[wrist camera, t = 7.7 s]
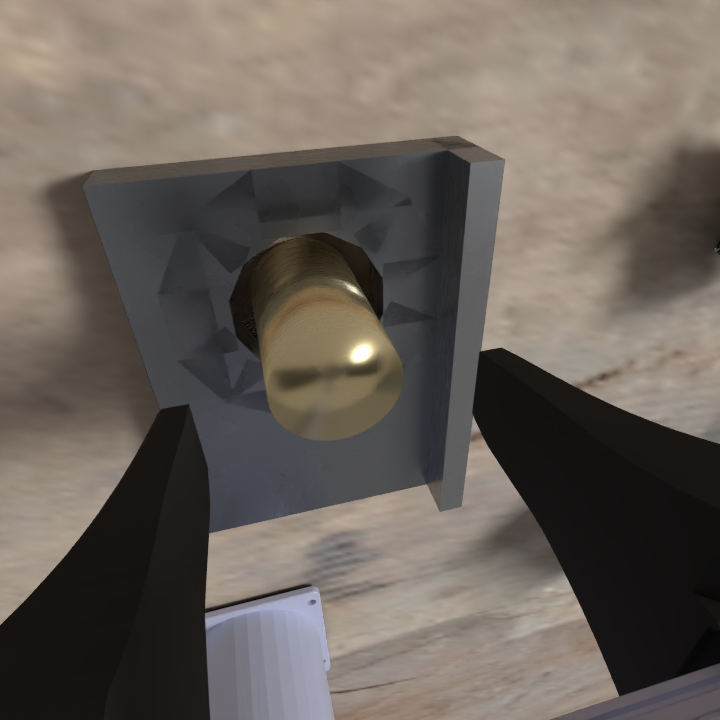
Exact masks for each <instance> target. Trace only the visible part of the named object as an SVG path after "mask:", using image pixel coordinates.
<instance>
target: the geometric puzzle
mask: <svg viewBox="0 0 720 720" xmlns="http://www.w3.org/2000/svg"><path fill="white" fill-rule="evenodd" d="M719 246H720V242H719V244H718V247H717V248H715V249H714V250H715V251H717V252H718V253H719V252H720V247H719ZM719 255H720V253H719Z"/></svg>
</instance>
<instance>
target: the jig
mask: <svg viewBox="0 0 720 720" xmlns="http://www.w3.org/2000/svg"><path fill="white" fill-rule="evenodd" d="M504 164H505V159H503V158H501V157H499V156H497V155H495V154H493V153H491V152H489V151H487V150H485V149H483V148H481V147H479V146H477V145H475V144H473V143H471V142H469V141H467V140H465V139H463V138H461V137H459V136H452V137H442V138H431V139H421V140H410V141H400V142H389V143H379V144H368V145H358V146H347V147H337V148H326V149H316V150H305V151H295V152H285V153H274V154H264V155H253V156H243V157H232V158H222V159H211V160H201V161H190V162H180V163H169V164H159V165H148V166H138V167H127V168H117V169H106V170H96V171H93V172H92V173H91V175H90V176H89V178H88V179H87V181H86V182H85V183H84V185H83V186H82V187H83V190H84V193H85V196H86V199H87V202H88V205H89V207H90V210H91V213H92V216H93V219H94V222H95V225H96V228H97V230H98V233H99V236H100V239H101V242H102V245H103V248H104V251H105V253H106V256H107V259H108V262H109V265H110V268H111V271H112V274H113V276H114V279H115V282H116V285H117V288H118V291H119V294H120V297H121V299H122V302H123V305H124V308H125V311H126V314H127V317H128V320H129V322H130V325H131V328H132V331H133V334H134V337H135V340H136V343H137V345H138V348H139V351H140V354H141V357H142V360H143V363H144V366H145V368H146V371H147V374H148V377H149V380H150V383H151V386H152V389H153V391H154V394H155V397H156V400H157V403H158V406H159V409H160V410H161V409H164V408H169V407H175V406H180V405H186V404H189V406H190V409H191V412H192V416H193V419H194V422H195V426H196V429H197V432H198V436H199V439H200V442H201V446H202V449H203V452H204V456H205V459H206V462H207V466H208V476H209V490H210V524H209V533H213V532H217V531H221V530H226V529H230V528H235V527H239V526H244V525H248V524H252V523H257V522H261V521H266V520H270V519H275V518H279V517H283V516H288V515H292V514H297V513H301V512H306V511H310V510H314V509H319V508H323V507H328V506H332V505H337V504H341V503H345V502H350V501H354V500H359V499H363V498H368V497H372V496H376V495H381V494H385V493H390V492H394V491H398V490H403V489H407V488H412V487H416V486H421V485H425V484H427V485H428V487H429V489H430V492H431V494H432V496H433V498H434V500H435V502H436V504H437V507H438V509H439V511H440V512H441V511H445V510H449V509H454V508H458V507H461V506H462V498H463V490H464V482H465V474H466V466H467V459H468V451H469V443H470V435H471V427H472V419H473V414H472V408H473V400H474V392H475V384H476V375H477V367H478V359H479V352H480V351H481V347H482V339H483V331H484V323H485V315H486V307H487V299H488V291H489V284H490V276H491V268H492V260H493V252H494V244H495V236H496V228H497V220H498V212H499V204H500V196H501V188H502V180H503V172H504ZM320 232H326V233H328V234H330V235H333V236H335V237H337V238H340V239H342V240H344V241H347V242H349V243H352V244H354V245H356V246H359V247H361V248H363V250H364V251H365V253H366V254H367V256H368V257H369V259H370V263H371V294H370V296H369V298H368V301H369V303H370V305H371V307H372V309H373V310H374V312H375V314H376V316H377V318H378V319H379V321H380V323H381V325H382V327H383V328H384V330H385V332H386V334H387V336H388V337H389V339H390V341H391V343H392V345H393V346H394V348H395V350H396V352H397V354H398V355H399V357H400V360H401V362H402V366H403V374H404V378H403V386H402V390H401V393H400V395H399V397H398V399H397V401H396V403H395V405H394V406H393V407H392V409H391V410H390V411H389V412H388V413H387V415H386V416H385V417H384V418H382V419H381V420H380V421H379V422H378V423H376V424H375V425H374V426H372V427H370V428H369V429H367V430H365V431H363V432H361V433H359V434H357V435H354V436H351V437H348V438H343V439H338V440H329V441H320V440H311V439H306V438H303V437H300V436H297V435H295V434H293V433H291V432H289V431H288V430H286V429H285V428H284V427H283V426H281V425H280V424H279V423H278V421H277V420H276V419H275V417H274V416H273V414H272V412H271V410H270V408H269V404H268V399H267V393H266V387H265V380H264V374H263V368H262V361H261V355H260V349H259V343H258V338H257V337H256V336H255V335H254V334H253V333H252V332H251V331H250V330H249V329H248V328H247V327H246V326H245V324H244V323H243V322H242V321H241V320H240V319H239V318H238V317H237V316H236V315H235V314H234V311H233V306H232V302H231V294H232V292H233V290H234V287H235V285H236V282H237V280H238V278H239V275H240V273H241V270H242V268H243V265H244V264H245V263H246V262H247V261H249V260H250V259H251V258H253V257H254V256H255V255H257V254H258V253H260V252H261V251H262V250H264V249H265V248H266V247H268V246H269V245H270V244H272V243H273V242H275V241H276V240H277V239H279V238H280V237H288V236H296V235H304V234H312V233H320Z"/></svg>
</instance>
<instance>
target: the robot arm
mask: <svg viewBox="0 0 720 720" xmlns="http://www.w3.org/2000/svg"><path fill="white" fill-rule="evenodd" d="M472 414H473V416H474V418H475V420H476V423H477V425H478V427H479V429H480V431H481V433H482V435H483V437H484V439H485V441H486V443H487V445H488V447H489V448H490V450H491V452H492V453H493V455H494V456H495V458H496V459H497V461H498V462H499V464H500V465H501V467H502V469H503V470H504V472H505V473H506V475H507V476H508V478H509V479H510V481H511V482H512V484H513V485H514V487H515V488H516V490H517V491H518V493H519V494H520V496H521V497H522V499H523V500H524V502H525V503H526V505H527V506H528V508H529V509H530V511H531V512H532V514H533V515H534V517H535V518H536V520H537V522H538V523H539V525H540V527H541V528H542V530H543V532H544V534H545V536H546V538H547V540H548V541H549V543H550V545H551V547H552V549H553V551H554V553H555V555H556V557H557V559H558V561H559V562H560V564H561V567H562V569H563V571H564V573H565V575H566V577H567V579H568V581H569V583H570V585H571V587H572V589H573V591H574V593H575V595H576V597H577V599H578V601H579V604H580V606H581V608H582V610H583V612H584V615H585V617H586V619H587V621H588V623H589V626H590V628H591V630H592V632H593V634H594V637H595V639H596V641H597V643H598V646H599V648H600V650H601V653H602V655H603V658H604V660H605V662H606V665H607V667H608V670H609V672H610V674H611V677H612V679H613V682H614V684H615V686H616V689H617V692H618V694H619V697H617V698H614V699H611V700H608V701H605V702H602V703H599V704H595V705H592V706H589V707H586V708H583V709H580V710H577V711H574V712H571V713H568V714H565V715H562V716H559V717H556V718H553V719H550V720H720V444H718V443H714V442H711V441H707V440H704V439H701V438H698V437H695V436H692V435H689V434H686V433H682V432H679V431H676V430H673V429H671V428H668V427H665V426H662V425H659V424H657V423H654V422H652V421H649V420H647V419H644V418H642V417H639V416H637V415H634V414H631V413H629V412H627V411H624V410H622V409H620V408H618V407H615V406H613V405H611V404H609V403H607V402H605V401H603V400H600V399H598V398H596V397H594V396H592V395H590V394H588V393H586V392H584V391H582V390H580V389H578V388H576V387H574V386H572V385H570V384H569V383H567V382H565V381H563V380H561V379H559V378H557V377H555V376H554V375H552V374H550V373H548V372H546V371H544V370H543V369H541V368H539V367H537V366H535V365H534V364H532V363H530V362H528V361H526V360H525V359H523V358H521V357H519V356H517V355H515V354H513V353H511V352H509V351H507V350H505V349H503V348H497V349H491V350H486V351H480V352H479V359H478V367H477V375H476V384H475V392H474V400H473V408H472ZM209 524H210V490H209V476H208V466H207V462H206V459H205V456H204V452H203V449H202V446H201V442H200V439H199V436H198V432H197V429H196V426H195V422H194V419H193V416H192V412H191V409H190V406H189V404H186V405H180V406H175V407H169V408H164V409H161V410H160V412H159V413H158V414H157V416H156V418H155V420H154V422H153V424H152V426H151V428H150V430H149V432H148V434H147V435H146V437H145V439H144V441H143V443H142V445H141V446H140V448H139V450H138V452H137V454H136V455H135V457H134V459H133V460H132V462H131V464H130V465H129V467H128V469H127V470H126V472H125V474H124V475H123V477H122V479H121V480H120V482H119V483H118V485H117V487H116V488H115V489H114V491H113V492H112V494H111V495H110V497H109V498H108V500H107V501H106V503H105V504H104V506H103V507H102V509H101V510H100V512H99V513H98V514H97V516H96V517H95V519H94V520H93V521H92V523H91V524H90V525H89V527H88V528H87V529H86V531H85V532H84V533H83V535H82V536H81V537H80V538H79V540H78V541H77V542H76V543H75V545H74V546H73V547H72V548H71V550H70V551H69V552H68V553H67V555H66V556H65V557H64V558H63V559H62V560H61V561H60V563H59V564H58V565H57V566H56V567H55V568H54V569H53V571H52V572H51V573H50V574H49V575H48V576H47V577H46V578H45V580H44V581H43V582H42V583H41V584H40V585H39V586H38V587H37V588H36V589H35V590H34V592H33V593H32V594H31V595H30V596H29V597H28V598H27V599H26V600H25V601H24V602H23V603H22V604H21V605H20V606H19V607H18V608H17V609H16V610H15V611H14V612H13V613H12V614H11V615H10V616H9V617H8V618H7V619H6V620H5V621H4V622H3V623H2V624H1V625H0V720H334V714H333V709H332V703H331V698H330V692H329V687H328V681H327V676H326V671H327V670H329V668H330V661H329V654H328V647H327V640H326V633H325V627H324V620H323V613H322V606H321V600H320V593H319V589H318V588H317V587H315V586H310V587H306V588H302V589H298V590H294V591H290V592H286V593H282V594H278V595H274V596H270V597H266V598H262V599H258V600H254V601H250V602H246V603H243V604H239V605H235V606H231V607H227V608H223V609H219V610H215V611H211V612H207V613H205V593H206V576H207V559H208V542H209Z"/></svg>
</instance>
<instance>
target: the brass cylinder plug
mask: <svg viewBox="0 0 720 720" xmlns="http://www.w3.org/2000/svg"><path fill="white" fill-rule="evenodd" d="M250 291H251V299H252V305H253V311H254V317H255V324H256V330H257V336H258V343H259V349H260V355H261V361H262V368H263V374H264V380H265V387H266V393H267V399H268V404H269V408H270V410H271V412H272V414H273V416H274V417H275V419H276V420H277V421H278V423H279V424H280V425H281V426H283V427H284V428H285V429H286V430H288V431H289V432H291V433H293V434H295V435H297V436H300V437H303V438H306V439H311V440H320V441H329V440H338V439H343V438H348V437H351V436H354V435H357V434H359V433H361V432H363V431H365V430H367V429H369V428H370V427H372V426H374V425H375V424H376V423H378V422H379V421H380V420H381V419H382V418H384V417H385V416H386V415H387V413H388V412H389V411H390V410H391V409H392V407H393V406H394V405H395V403H396V401H397V399H398V397H399V395H400V393H401V390H402V386H403V378H404V374H403V366H402V362H401V360H400V357H399V355H398V354H397V352H396V350H395V348H394V346H393V345H392V343H391V341H390V339H389V337H388V336H387V334H386V332H385V330H384V328H383V327H382V325H381V323H380V321H379V319H378V318H377V316H376V314H375V312H374V310H373V309H372V307H371V305H370V303H369V301H368V300H367V298H366V296H365V294H364V292H363V291H362V289H361V287H360V285H359V283H358V282H357V280H356V278H355V276H354V274H353V273H352V271H351V269H350V267H349V266H348V264H347V262H346V260H345V259H344V257H343V256H342V255H341V254H340V253H339V252H338V251H337V250H336V249H335V248H334V247H332V246H331V245H329V244H327V243H325V242H322V241H320V240H316V239H311V238H297V239H291V240H288V241H284V242H282V243H280V244H278V245H276V246H274V247H273V248H271V249H270V250H269V251H267V252H266V253H265V254H264V255H263V256H262V257H261V259H260V260H259V261H258V263H257V264H256V266H255V268H254V271H253V273H252V277H251V282H250Z"/></svg>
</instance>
